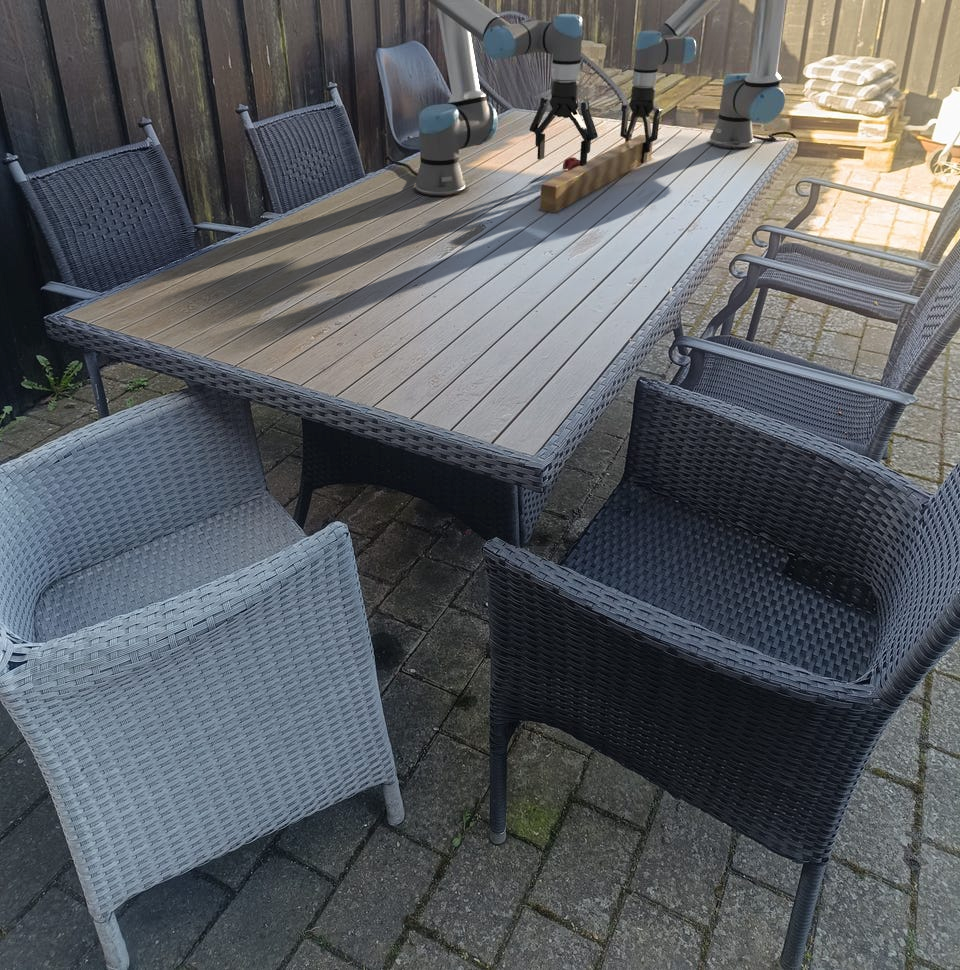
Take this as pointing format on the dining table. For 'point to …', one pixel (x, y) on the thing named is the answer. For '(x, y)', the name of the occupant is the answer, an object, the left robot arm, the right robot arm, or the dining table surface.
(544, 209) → the bar
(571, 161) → the dark red lumpy piece
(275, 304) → the dining table surface
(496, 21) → the left robot arm
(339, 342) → the dining table surface
